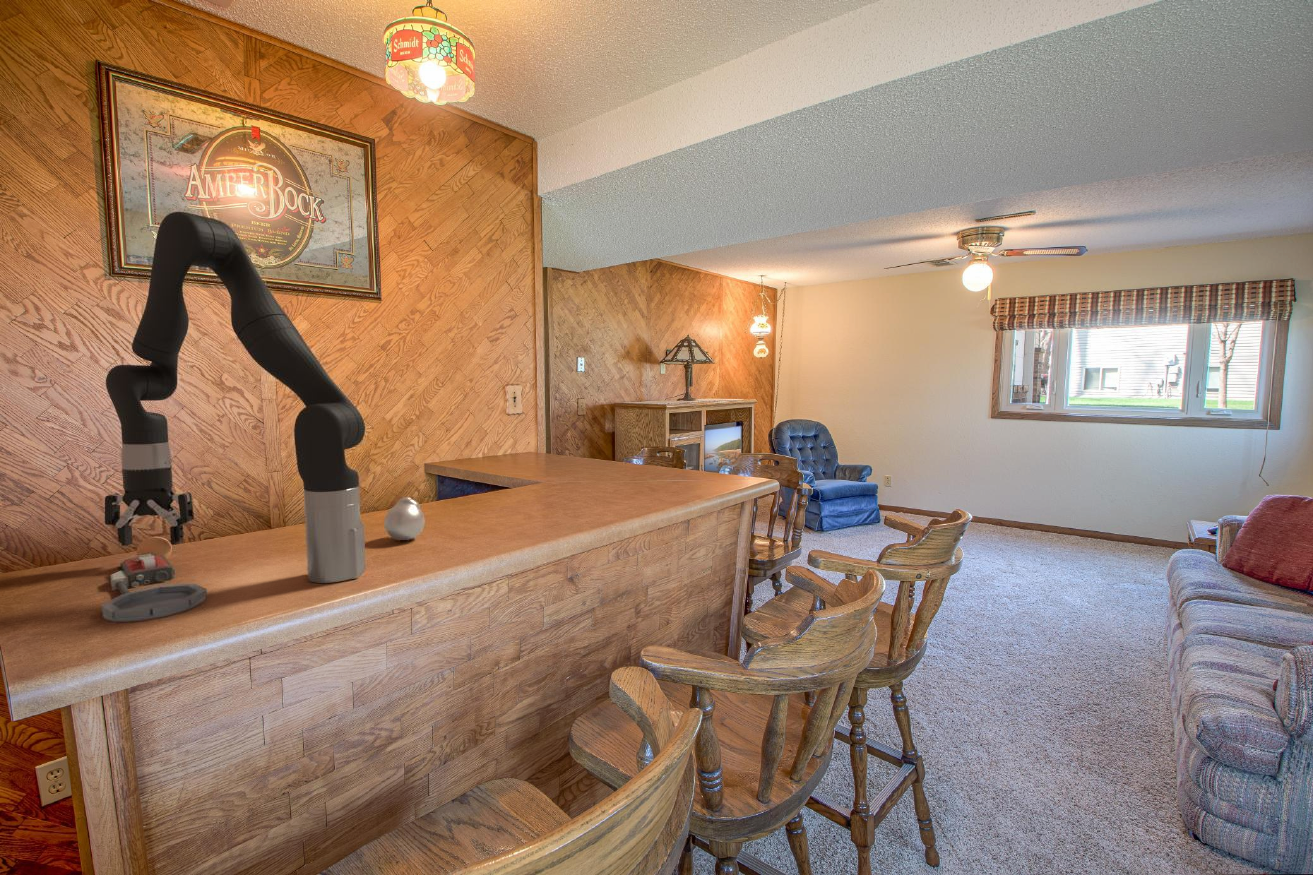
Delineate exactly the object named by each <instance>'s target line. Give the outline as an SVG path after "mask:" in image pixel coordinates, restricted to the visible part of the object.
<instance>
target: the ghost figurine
mask: <svg viewBox="0 0 1313 875" xmlns="http://www.w3.org/2000/svg"><path fill="white" fill-rule="evenodd" d="M425 519H426V518H425V515H424V512H423V510H421V506H420V503H419V502H418V501H416V500H415V499H413V498H411V497H409V496H405V497H402V498H400V499H399V500H398V501H397V503H396V504H395V505H394V506H392V507H391V508H390V509H389V510H388V511H387V513H386V514H385V517H384V521H383V523H384V530H385V532H386V533H387V535H388V536H390V537H391V538H392V539H394V540H396V541H400V540H407V541H410V539H411V540H413V539H415V538H417V537H418V536H419V535H420V534H421V533H422V531H423V529H424V527H425V522H426V521H425Z"/></svg>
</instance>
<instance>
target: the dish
mask: <svg viewBox="0 0 1313 875" xmlns="http://www.w3.org/2000/svg"><path fill="white" fill-rule="evenodd" d="M207 593H208V592H207V588H206V587H204V586H201V585H199V584H197V583H190V582H189V583H175V584H163V585H156V586H150V587H146V588H143V589H139V590H133V591H131V592H130V591H129V593H125V594H120V595H118V596H116V597H114V598H112V599H110V600H109V601H107V602H105V603H102V605H101V612H102V618H103V619H104V620H106V621H108V622H113V623H133V622H143V621H149V620H155V619H160V618H161V619H162V618H165V617H169V616H173V615H177V614H181V613H184V612H186V611H189V610H191V609H194V608H196V607H197V606H200V605H201V604H203V603H204V602H205V601H206V599H207Z"/></svg>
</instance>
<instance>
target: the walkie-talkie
mask: <svg viewBox="0 0 1313 875" xmlns="http://www.w3.org/2000/svg"><path fill="white" fill-rule="evenodd" d="M119 564H120V565H119V566H118V567H117V572H115V573H114V572H113V573H112V574H110V577H109V578H110V585H111V591H117V590H116V589H118V591H119V592H120V595H122V594H125V593H129V592H130V590H129V589H128V588H137V587H141V586H146V585H152V584H158V583H163V582H167V581H173V580H175V574H176V573H175V568H174V566H173V565H172V564H171V563H170V562H169V560H167V559H165V558H164V556H160V555H151V554H147V555H141V556H137V555H136V556H135V557H134V558H133V557H132V558H128V559H125V560H123V561H122V562H120V563H119ZM172 579H173V580H172Z"/></svg>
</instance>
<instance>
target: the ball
mask: <svg viewBox="0 0 1313 875" xmlns="http://www.w3.org/2000/svg"><path fill="white" fill-rule="evenodd" d="M172 552H173V545H172V544H171V541H169V540H168V539H166V538H165V537H162V536H151V537H147V538H145V539H144V540H142V541H141V542H140V543H139V545H138V546H137V548H136V556H141V555H147V554H151V555H160V556H164V558H165V559H166V560H167V559H168V558H170V556H171V555H172Z"/></svg>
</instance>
